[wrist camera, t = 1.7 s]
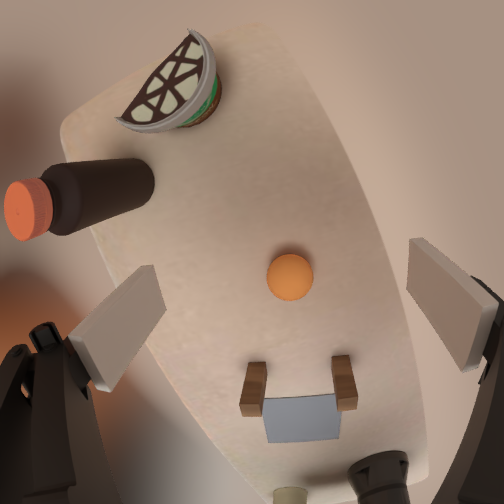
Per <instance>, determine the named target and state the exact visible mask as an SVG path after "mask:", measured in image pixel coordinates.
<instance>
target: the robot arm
mask: <svg viewBox="0 0 504 504" xmlns="http://www.w3.org/2000/svg"><path fill="white" fill-rule="evenodd" d="M409 242H410V243H409V263H408V277H407V290H408V292H409V293H410V294H411V296H412V297H413V298H414V300H415V301H416V303H417V304H418V306H419V307H420V309H421V310H422V311H423V313H424V314H425V315H426V317H427V319H428V320H429V321H430V323H431V325H432V326H433V328H434V329H435V330H436V332H437V334H438V335H439V337H440V338H441V340H442V341H443V343H444V344H445V346H446V348H447V349H448V351H449V352H450V354H451V355H452V357H453V359H454V361H455V362H456V364H457V365H458V367H459V369H460V371H461V372H462V373H464V372H467V371H470V370H473V369H476V368H478V366H479V363H480V361H481V358H482V356H484V357H485V359H486V360H487V364H486V366H485V369H484V371H483V373H482V376H481V378H480V380H479V382H478V384H480V388H479V392H478V395H477V399H476V402H475V405H474V408H473V412H472V415H471V418H470V421H469V423H468V426H467V429H466V432H465V434H464V437H463V439H462V442H461V444H460V447H459V449H458V451H457V454H456V456H455V459H454V461H453V463H452V465H451V467H450V469H449V471H448V473H447V475H446V477H445V479H444V481H443V483H442V485H441V487H440V489H439V491H438V493H437V494H436V496H435V498H434V499H433V501H432V503H431V504H504V301H503V300H502V299H501V298H500V297H499V296H498V295H497V294H496V293H494V292H493V291H492V290H491V289H490V288H489V287H487V285H485V284H484V283H483V282H482V281H481V280H479V279H477V278H475V277H473V276H469V275H468V274H467V273H466V272H465V271H463V270H462V269H461V268H460V267H459V266H457V265H456V264H455V263H454V262H453V261H451V260H450V259H449V258H448V257H447V256H445V255H444V254H443V253H442V252H440V251H439V250H438V249H437V248H435V247H434V246H433V245H431V244H430V243H429V242H428V241H426V240H425V239H424V238H414V239H410V240H409ZM166 310H167V309H166V306H165V303H164V300H163V297H162V293H161V290H160V287H159V283H158V280H157V276H156V273H155V269H154V266H153V265H146V266H141V267H140V268H138V269H137V270H136V271H135V272H134V273H133V274H132V275H131V276H130V277H128V278H127V279H126V280H125V281H124V282H123V283H122V284H121V285H120V286H119V287H117V288H116V289H115V290H114V291H113V292H112V293H111V294H110V295H109V296H108V297H107V298H106V299H105V300H104V301H103V302H102V303H100V304H99V305H98V306H97V307H96V308H95V309H94V310H93V311H92V312H91V313H90V314H89V315H88V316H87V317H86V318H85V319H84V320H83V321H82V322H81V323H80V324H79V325H78V326H77V327H76V328H75V329H74V330H73V331H72V332H71V333H70V334H69V335H68V336H67V337H66V338H65V340H62V338H61V336H60V334H59V332H58V330H57V328H56V326H55V324H54V323H53V322H46V323H42V324H40V325H38V326H36V327H35V328H34V329H33V330H32V331H31V332H30V333H29V337H30V339H31V341H32V343H33V344H34V347H35V348H36V350H37V352H38V353H31V351H30V350H29V348H28V346H27V345H26V344H20V345H15V346H14V347H12V349H11V350H9V352H8V353H7V354H6V356H5V358H4V360H3V361H2V363H1V365H0V504H123V503H122V500H121V498H120V495H119V493H118V490H117V487H116V485H115V482H114V479H113V476H112V473H111V470H110V467H109V464H108V460H107V457H106V454H105V450H104V447H103V443H102V439H101V435H100V432H99V427H98V423H97V419H96V415H95V410H94V405H93V400H92V395H91V391H90V389H89V387H88V385H87V384H88V382H89V381H90V380H92V381H93V383H94V385H95V386H96V388H97V390H102V391H107V392H111V391H112V390H113V389H114V387H115V386H116V384H117V382H118V381H119V379H120V378H121V376H122V375H123V373H124V372H125V370H126V369H127V367H128V366H129V364H130V362H131V361H132V360H133V358H134V357H135V355H136V354H137V352H138V351H139V349H140V348H141V346H142V345H143V343H144V342H145V340H146V339H147V337H148V336H149V335H150V333H151V332H152V330H153V329H154V327H155V326H156V324H157V323H158V321H159V320H160V319H161V317H162V316H163V314H164V313H165V311H166ZM21 384H22V385H23V386H24V388H25V390H26V391H27V393H28V397H27V398H26V397H25V396H24V394H23V393H22V391H21ZM408 467H409V461H408V457H407V455H406V454H405V453H404V452H400V451H390V452H384V453H379V454H376V455H373V456H370V457H367V458H365V459H363V460H361V461H359V462H357V463H356V464H354V465H353V466H352V467H351V468H350V469H349V471H348V480H349V483H350V484H351V486H352V488H353V490H354V492H355V494H356V495H357V498H358V504H410V500H409V495H408V491H407V485H406V480H407V474H408Z"/></svg>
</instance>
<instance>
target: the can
mask: <svg viewBox="0 0 504 504" xmlns="http://www.w3.org/2000/svg"><path fill="white" fill-rule="evenodd" d="M306 503H307V491H306V490H305V489H302V488H297V487H285V488H280V489H277V490H275V491H274V499H273V504H306Z"/></svg>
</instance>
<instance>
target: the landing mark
mask: <svg viewBox="0 0 504 504" xmlns="http://www.w3.org/2000/svg"><path fill="white" fill-rule="evenodd" d="M262 415H263V420H264V425H265V429H266V434H267V439H268V443H287V442H307V441H319V440H330V439H339V431H340V421H341V411H340V412H337V406H336V398H335V394H326V395H316V396H304V397H288V398H264V403H263V410H262Z"/></svg>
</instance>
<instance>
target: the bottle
mask: <svg viewBox="0 0 504 504" xmlns="http://www.w3.org/2000/svg"><path fill="white" fill-rule="evenodd" d="M153 188H154V178H153V175H152V172H151V170H150V168H149V167H148V166H147V164H145V163H144V162H142V161H141V160H138V159H134V158H132V159H110V160H95V161H82V162H70V163H60V164H56V165H52V166H50V167H49V168H48V169H47V170H45V171H44V173H43V174H42V176H41V177H40V178H31V179H25V180H19V181H16V182H14V183H12V184H11V185H10V186H9V188H8V190H7V192H6V196H5V201H4V212H5V219H6V222H7V225H8V227H9V229H10V231H11V233H12V234H13V235H14V237H15V238H17V239H18V240H21V241H27V240H29V239H32V238H34V237H37V236H39V235H41V234H43V233H45V232H47V231H48V230H49V231H50V232H51V233H53V234H56V235H59V236H64V235H65V236H66V235H69V234H71V233H74V232H76V231H79V230H81V229H83V228H86V227H88V226H91V225H93V224H96V223H98V222H101V221H104V220H106V219H109V218H111V217H114V216H117V215H119V214H122V213H125V212H128V211H130V210H133V209H136V208H138V207H141V206H143V205H144V204H145V203H146V202H147V201H148V200H149V198H150V197H151V195H152V193H153Z"/></svg>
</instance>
